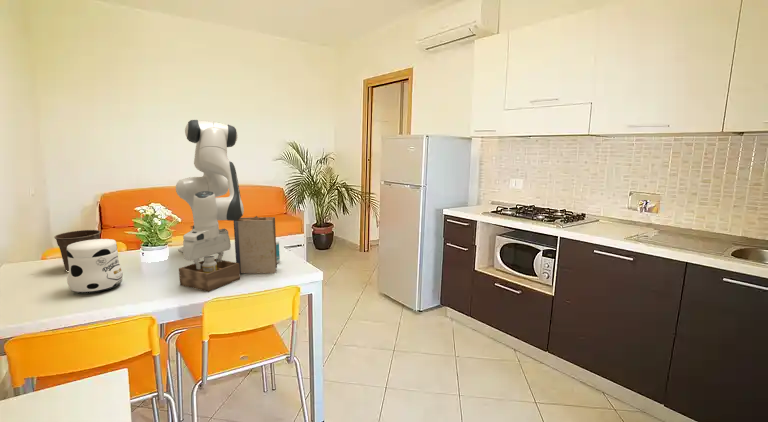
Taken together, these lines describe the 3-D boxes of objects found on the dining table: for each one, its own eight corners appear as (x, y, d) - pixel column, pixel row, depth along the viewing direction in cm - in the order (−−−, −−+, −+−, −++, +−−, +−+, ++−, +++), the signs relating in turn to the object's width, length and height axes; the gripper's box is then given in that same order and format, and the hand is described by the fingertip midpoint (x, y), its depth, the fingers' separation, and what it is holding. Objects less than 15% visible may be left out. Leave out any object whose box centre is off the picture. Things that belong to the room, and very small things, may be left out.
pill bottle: (282, 260, 193) (281, 233, 190) (276, 265, 185) (275, 237, 183) (267, 260, 193) (266, 233, 191) (261, 264, 186) (259, 236, 184)
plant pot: (50, 275, 168) (45, 238, 165) (72, 264, 183) (67, 230, 181) (93, 273, 171) (89, 237, 168) (111, 262, 186) (107, 229, 184)
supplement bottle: (212, 277, 166) (210, 254, 164) (220, 279, 163) (219, 256, 161) (200, 280, 161) (198, 257, 159) (209, 283, 158) (207, 259, 157)
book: (277, 268, 181) (275, 214, 176) (275, 273, 174) (273, 217, 169) (238, 269, 179) (235, 215, 174) (235, 274, 172) (232, 218, 167)
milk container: (128, 289, 154) (123, 244, 151) (71, 300, 142) (65, 252, 139) (118, 277, 166) (114, 236, 163) (66, 287, 155) (60, 243, 151)
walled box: (180, 285, 159) (178, 268, 158) (212, 273, 173) (211, 258, 172) (208, 291, 152) (207, 274, 151) (240, 279, 166) (239, 263, 165)
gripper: (222, 226, 169) (224, 258, 171) (179, 236, 151) (182, 271, 153) (233, 228, 166) (235, 260, 169) (190, 238, 148) (193, 273, 151)
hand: (209, 265), depth 161 cm, fingers open, 8 cm apart
